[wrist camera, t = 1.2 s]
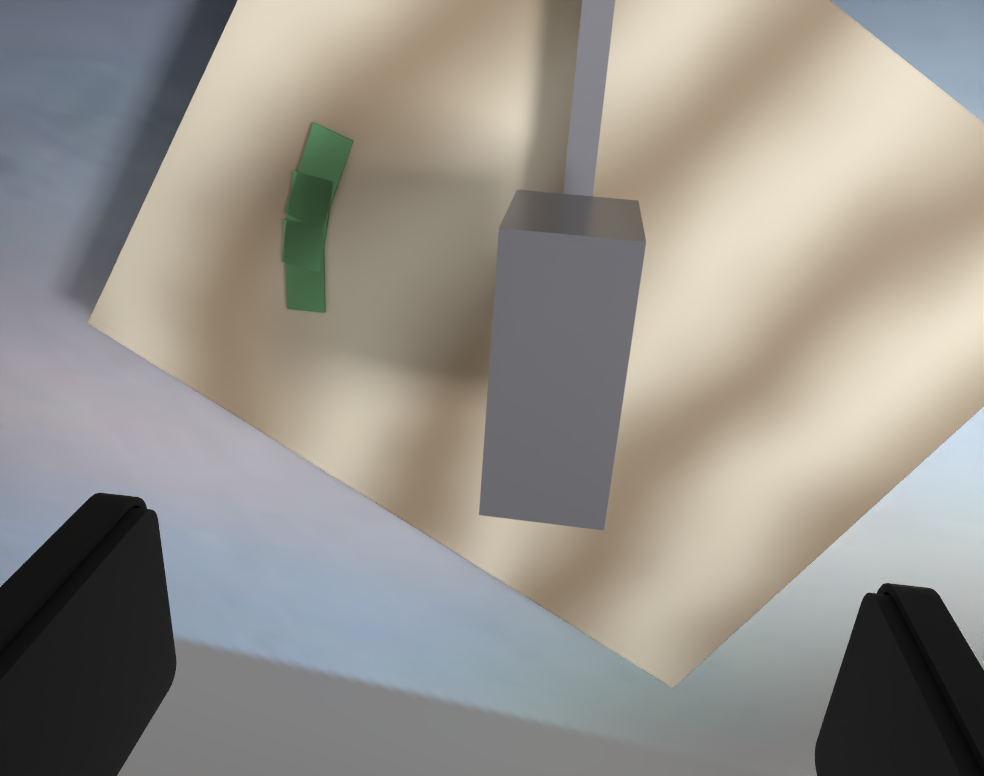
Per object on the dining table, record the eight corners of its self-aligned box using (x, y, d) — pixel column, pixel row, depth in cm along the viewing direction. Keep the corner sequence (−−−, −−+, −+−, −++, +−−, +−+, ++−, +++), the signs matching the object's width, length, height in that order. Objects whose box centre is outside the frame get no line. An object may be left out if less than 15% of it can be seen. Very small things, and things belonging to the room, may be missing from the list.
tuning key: (603, 406, 26) (603, 530, 20) (507, 395, 26) (478, 515, 20) (664, -45, 21) (691, -69, 14) (544, -54, 21) (520, -79, 15)
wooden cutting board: (1108, 237, 24) (1152, 256, 22) (668, 650, 32) (673, 691, 30) (415, -314, 21) (396, -346, 19) (119, 303, 29) (85, 324, 27)
